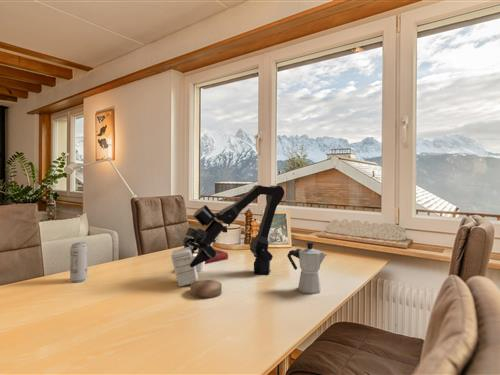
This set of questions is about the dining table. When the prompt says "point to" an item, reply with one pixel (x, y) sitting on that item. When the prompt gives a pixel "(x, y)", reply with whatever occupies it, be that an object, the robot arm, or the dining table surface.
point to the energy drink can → (78, 262)
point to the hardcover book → (217, 256)
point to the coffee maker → (308, 268)
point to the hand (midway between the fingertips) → (185, 263)
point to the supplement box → (184, 266)
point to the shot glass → (199, 265)
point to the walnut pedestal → (206, 289)
